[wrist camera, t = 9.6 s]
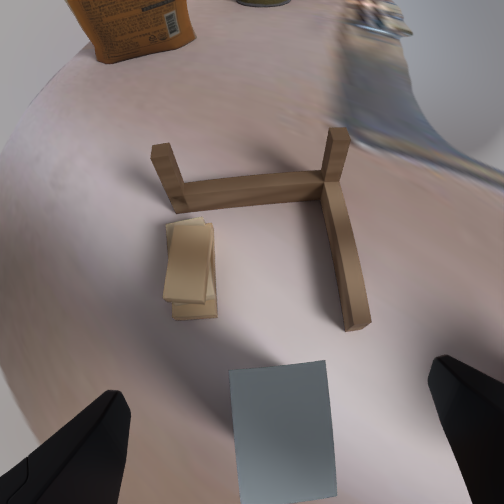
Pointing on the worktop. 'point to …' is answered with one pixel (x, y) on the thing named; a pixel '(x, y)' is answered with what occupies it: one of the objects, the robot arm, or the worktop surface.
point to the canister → (263, 3)
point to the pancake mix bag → (133, 26)
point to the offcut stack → (191, 270)
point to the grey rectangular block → (283, 433)
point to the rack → (283, 191)
